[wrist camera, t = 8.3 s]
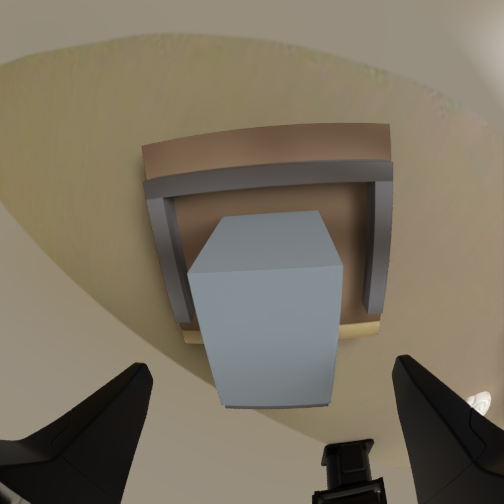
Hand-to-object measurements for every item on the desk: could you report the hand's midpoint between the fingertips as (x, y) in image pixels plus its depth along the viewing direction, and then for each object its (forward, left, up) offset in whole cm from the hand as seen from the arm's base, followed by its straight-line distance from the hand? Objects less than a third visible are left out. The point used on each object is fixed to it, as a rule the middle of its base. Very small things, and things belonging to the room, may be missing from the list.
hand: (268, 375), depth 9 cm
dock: (+1, 0, -11) cm, 11 cm away
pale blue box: (0, 0, -9) cm, 9 cm away
